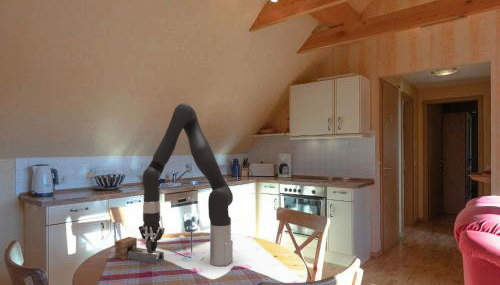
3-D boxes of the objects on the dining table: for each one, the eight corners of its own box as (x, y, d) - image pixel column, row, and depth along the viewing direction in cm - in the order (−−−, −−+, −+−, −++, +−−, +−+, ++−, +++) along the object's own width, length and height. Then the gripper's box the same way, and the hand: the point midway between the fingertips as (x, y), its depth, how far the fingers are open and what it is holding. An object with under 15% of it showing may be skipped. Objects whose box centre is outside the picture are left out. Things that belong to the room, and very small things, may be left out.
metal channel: (163, 259, 148) (163, 252, 148) (155, 263, 143) (155, 255, 143) (136, 254, 155) (136, 247, 155) (127, 258, 150) (128, 250, 150)
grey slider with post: (160, 257, 147) (160, 240, 147) (156, 260, 145) (156, 242, 145) (138, 253, 153) (138, 236, 153) (133, 255, 150) (134, 238, 150)
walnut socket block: (136, 253, 157) (136, 237, 157) (123, 259, 149) (123, 242, 149) (128, 252, 159) (128, 236, 159) (115, 257, 151) (115, 241, 151)
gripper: (169, 210, 148) (169, 248, 148) (145, 208, 154) (145, 244, 154) (158, 213, 142) (158, 253, 141) (133, 211, 147) (133, 249, 147)
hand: (151, 248), depth 148 cm, fingers closed on grey slider with post, 2 cm apart
